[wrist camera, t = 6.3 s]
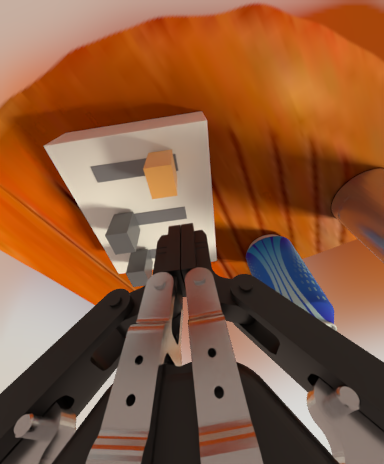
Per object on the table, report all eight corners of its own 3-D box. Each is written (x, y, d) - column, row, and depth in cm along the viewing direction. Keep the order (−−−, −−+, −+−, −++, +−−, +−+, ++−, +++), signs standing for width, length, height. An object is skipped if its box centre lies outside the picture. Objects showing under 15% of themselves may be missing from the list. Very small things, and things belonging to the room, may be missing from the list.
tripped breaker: (171, 149, 20) (171, 164, 17) (177, 177, 22) (177, 195, 18) (148, 153, 20) (143, 168, 17) (155, 180, 22) (152, 199, 19)
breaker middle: (133, 211, 24) (126, 232, 21) (140, 230, 26) (135, 252, 23) (114, 214, 24) (105, 235, 21) (122, 232, 26) (115, 254, 23)
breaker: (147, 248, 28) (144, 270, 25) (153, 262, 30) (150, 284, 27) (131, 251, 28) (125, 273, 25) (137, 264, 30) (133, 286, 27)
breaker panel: (201, 111, 22) (207, 120, 18) (212, 239, 35) (216, 261, 31) (65, 132, 23) (42, 146, 19) (124, 251, 36) (118, 274, 32)
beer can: (237, 243, 36) (268, 333, 24) (282, 223, 34) (342, 312, 22) (252, 268, 41) (284, 353, 29) (293, 252, 39) (347, 337, 26)
